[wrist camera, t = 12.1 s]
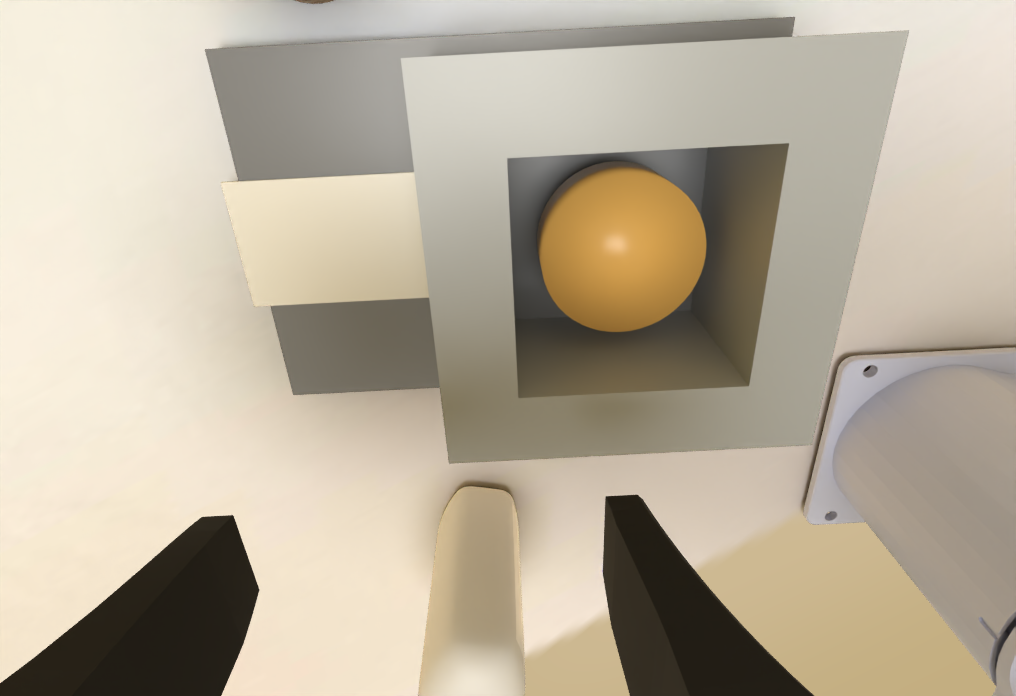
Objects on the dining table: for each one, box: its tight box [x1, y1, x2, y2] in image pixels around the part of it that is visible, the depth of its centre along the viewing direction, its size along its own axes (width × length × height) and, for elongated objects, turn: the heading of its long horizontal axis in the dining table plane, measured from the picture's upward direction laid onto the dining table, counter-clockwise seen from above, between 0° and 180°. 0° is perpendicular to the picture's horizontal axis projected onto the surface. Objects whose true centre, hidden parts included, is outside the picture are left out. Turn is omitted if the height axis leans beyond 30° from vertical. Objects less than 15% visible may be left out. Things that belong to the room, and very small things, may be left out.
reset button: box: [537, 161, 706, 332], centre depth 16 cm, size 4×4×2 cm
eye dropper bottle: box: [418, 486, 525, 696], centre depth 20 cm, size 4×6×12 cm
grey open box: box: [205, 17, 909, 464], centre depth 16 cm, size 16×11×6 cm, turn 93°
